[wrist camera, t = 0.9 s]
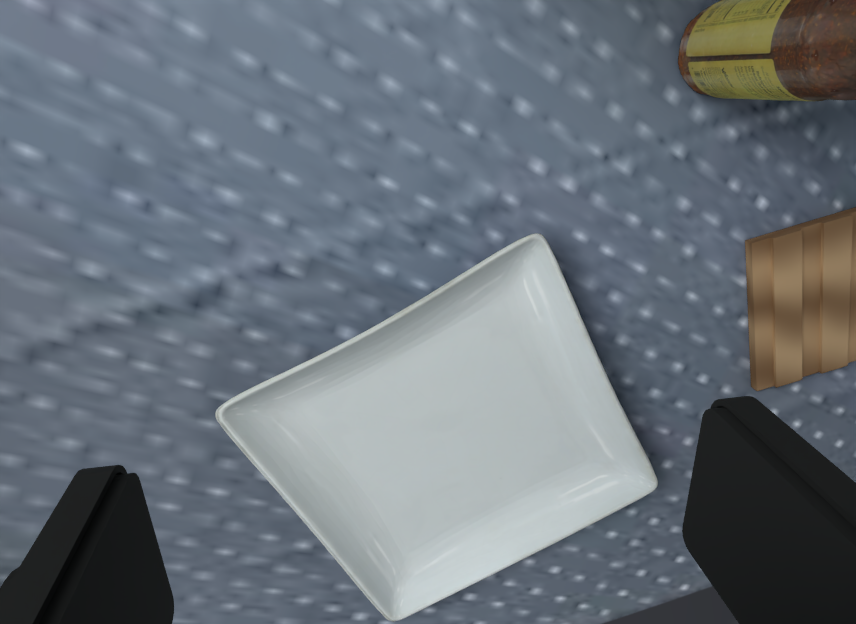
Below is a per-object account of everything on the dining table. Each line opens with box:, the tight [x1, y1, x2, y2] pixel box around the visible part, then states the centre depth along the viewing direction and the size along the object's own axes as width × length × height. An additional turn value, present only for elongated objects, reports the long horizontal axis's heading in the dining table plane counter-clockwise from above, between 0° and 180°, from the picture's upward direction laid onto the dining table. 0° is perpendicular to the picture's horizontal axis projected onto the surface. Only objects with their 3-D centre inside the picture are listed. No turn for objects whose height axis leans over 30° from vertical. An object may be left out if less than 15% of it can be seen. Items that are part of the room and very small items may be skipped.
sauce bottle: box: [678, 0, 856, 101], centre depth 33 cm, size 6×6×20 cm
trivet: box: [745, 207, 856, 391], centre depth 50 cm, size 14×14×1 cm
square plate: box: [216, 234, 658, 622], centre depth 50 cm, size 27×27×4 cm
